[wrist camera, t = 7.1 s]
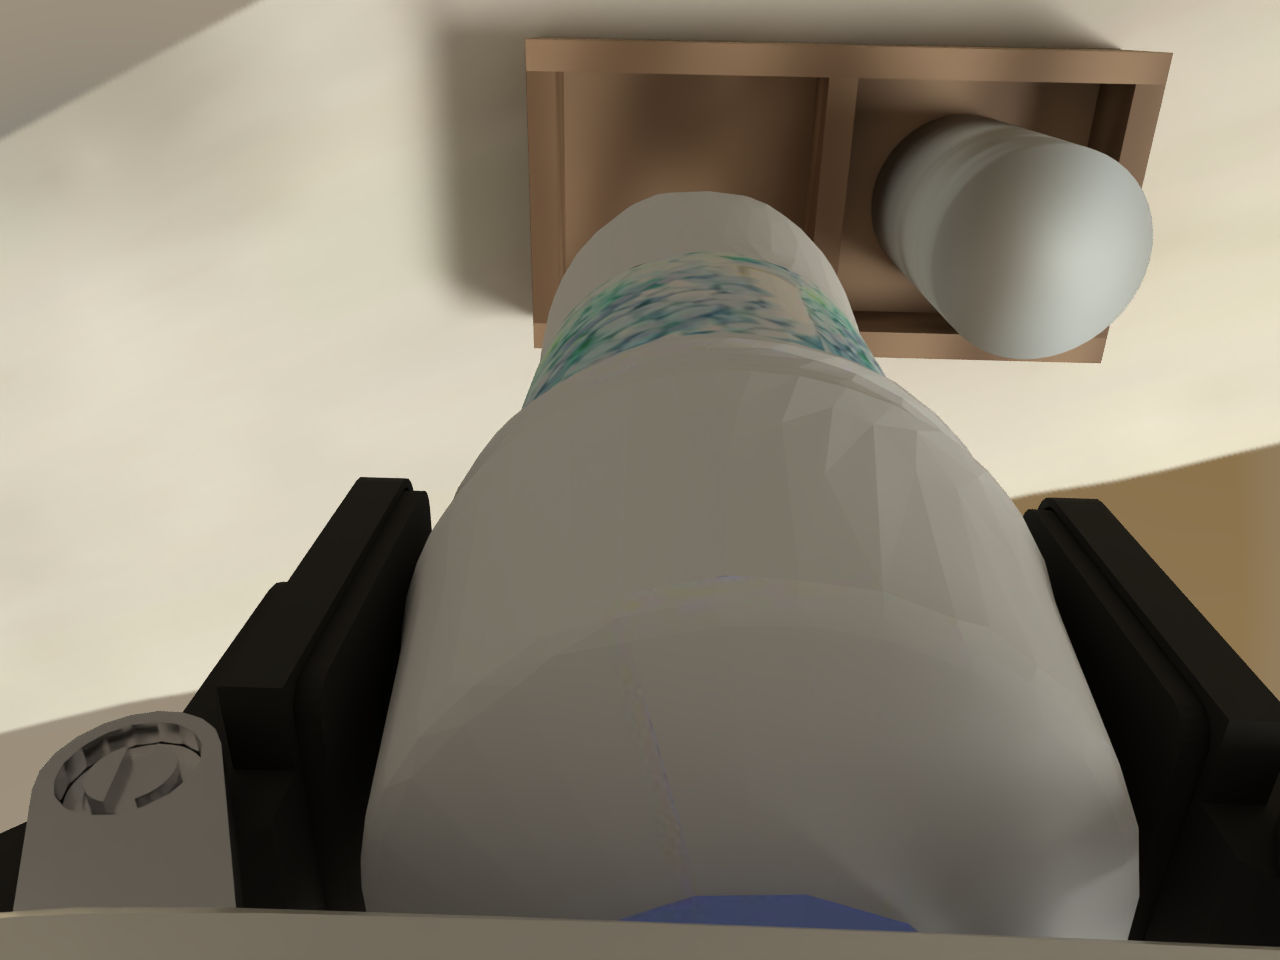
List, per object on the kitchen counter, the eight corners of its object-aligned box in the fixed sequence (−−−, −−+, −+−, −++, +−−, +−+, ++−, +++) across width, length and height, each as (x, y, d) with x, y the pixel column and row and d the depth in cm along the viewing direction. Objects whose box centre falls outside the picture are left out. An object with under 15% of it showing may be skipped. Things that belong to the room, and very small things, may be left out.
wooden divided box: (1123, 49, 36) (1293, 60, 26) (1063, 333, 41) (1188, 432, 31) (539, 37, 37) (490, 43, 27) (545, 319, 42) (506, 413, 32)
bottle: (758, 490, 24) (1013, 1874, 6) (507, 383, 23) (-70, 1664, 5) (897, 244, 22) (2084, 1420, 3) (621, 111, 20) (243, 784, 2)
